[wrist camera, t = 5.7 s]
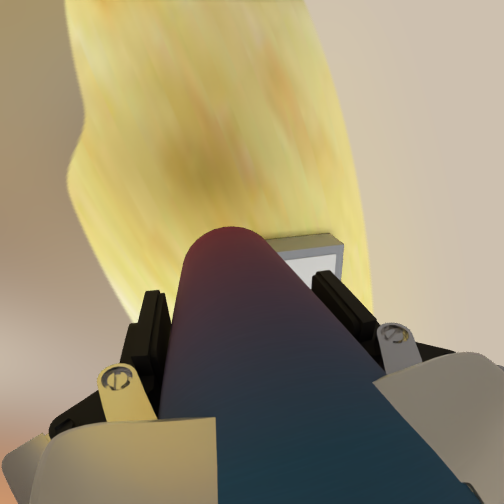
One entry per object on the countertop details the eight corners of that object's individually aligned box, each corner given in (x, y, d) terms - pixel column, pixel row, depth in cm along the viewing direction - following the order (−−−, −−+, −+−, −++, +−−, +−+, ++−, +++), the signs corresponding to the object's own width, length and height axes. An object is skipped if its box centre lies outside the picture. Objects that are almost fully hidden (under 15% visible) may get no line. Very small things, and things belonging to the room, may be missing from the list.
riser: (241, 242, 34) (247, 256, 30) (329, 233, 35) (344, 244, 32) (246, 320, 38) (252, 340, 34) (324, 307, 40) (336, 324, 36)
